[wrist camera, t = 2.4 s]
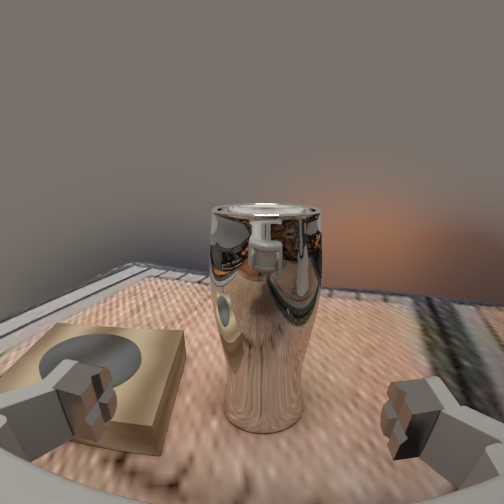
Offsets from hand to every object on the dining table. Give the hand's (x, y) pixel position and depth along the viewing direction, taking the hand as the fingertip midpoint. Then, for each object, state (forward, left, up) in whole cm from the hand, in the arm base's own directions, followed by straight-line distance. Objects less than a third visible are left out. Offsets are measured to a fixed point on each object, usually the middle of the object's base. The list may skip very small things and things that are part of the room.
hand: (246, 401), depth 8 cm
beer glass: (-1, -12, -11) cm, 17 cm away
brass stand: (+13, -13, -11) cm, 21 cm away
